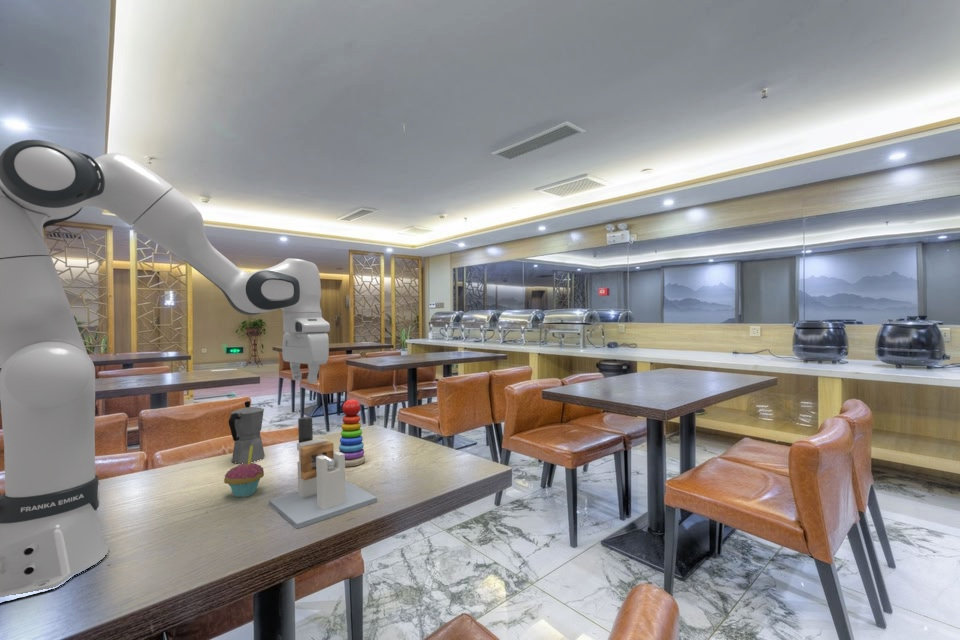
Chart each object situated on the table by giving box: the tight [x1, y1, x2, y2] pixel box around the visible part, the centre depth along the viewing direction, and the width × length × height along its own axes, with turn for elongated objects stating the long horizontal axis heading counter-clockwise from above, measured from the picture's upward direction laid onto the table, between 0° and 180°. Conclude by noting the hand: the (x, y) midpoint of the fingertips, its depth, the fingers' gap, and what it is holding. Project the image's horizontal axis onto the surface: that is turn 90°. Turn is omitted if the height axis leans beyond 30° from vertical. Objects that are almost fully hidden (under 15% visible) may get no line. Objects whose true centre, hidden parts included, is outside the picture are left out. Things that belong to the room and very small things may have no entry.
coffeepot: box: [228, 400, 265, 463], centre depth 132 cm, size 15×9×18 cm, turn 178°
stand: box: [268, 438, 378, 529], centre depth 98 cm, size 18×17×13 cm
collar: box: [300, 441, 335, 480], centre depth 100 cm, size 7×2×7 cm, turn 133°
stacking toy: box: [338, 398, 366, 468], centre depth 127 cm, size 8×8×19 cm
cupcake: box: [223, 443, 265, 498], centre depth 105 cm, size 9×8×12 cm
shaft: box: [297, 416, 337, 469], centre depth 101 cm, size 3×17×9 cm, turn 43°
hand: (304, 381), depth 106 cm, fingers open, 8 cm apart
